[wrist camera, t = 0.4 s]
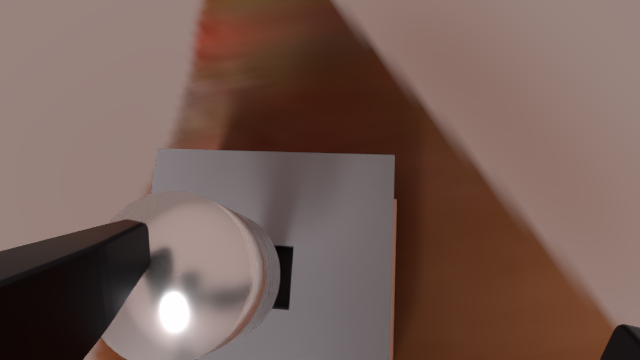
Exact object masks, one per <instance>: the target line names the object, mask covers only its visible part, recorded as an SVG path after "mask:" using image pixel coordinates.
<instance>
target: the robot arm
mask: <svg viewBox="0 0 640 360" xmlns="http://www.w3.org/2000/svg"><path fill="white" fill-rule="evenodd" d="M149 262H150V244H149V230H148V227H147V225H146V224H145V223H144V222H139V221H135V220H130V219H125V220H121V221H117V222H113V223H109V224H105V225H102V226H97V227H93V228H90V229H86V230H82V231H78V232H74V233H70V234H66V235H62V236H58V237H55V238H50V239H46V240H43V241H39V242H35V243H31V244H27V245H23V246H19V247H15V248H12V249H8V250H3V251H0V360H83V359H84V358H85V356H86V355H87V354H88V353H89V351H90V350H91V349H92V348H93V346H94V345H95V344H96V343H97V341H98V340H99V339H100V338H101V336H102V335H103V334H104V332H105V331H106V330H107V328H108V327H109V326H110V324H111V323H112V321H113V320H114V318H115V317H116V315H117V314H118V312H119V311H120V309H121V308H122V306H123V305H124V303H125V302H126V300H127V298H128V297H129V295H130V294H131V292H132V291H133V289H134V288H135V286H136V285H137V283H138V282H139V280H140V279H141V277H142V275H143V274H144V272H145V271H146V269H147V267H148V265H149ZM600 360H640V328H639V327H635V326H630V325H625V324H622V325H619V326H617V327H616V328H615V330H614V331H613V333H612V335H611V337H610V340H609V342H608V344H607V346H606V348H605V350H604V352H603V354H602V356H601V359H600Z"/></svg>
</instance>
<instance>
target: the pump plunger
mask: <svg viewBox="0 0 640 360" xmlns="http://www.w3.org/2000/svg"><path fill="white" fill-rule="evenodd" d="M125 219H130V220H135V221H139V222H144V223H145V224H146V225H147V227H148V230H149V244H150V262H149V265H148V267H147V269H146V271H145V272H144V274H143V275H142V277H141V279H140V280H139V282H138V283H137V285H136V286H135V288H134V289H133V291H132V292H131V294H130V295H129V297H128V298H127V300H126V302H125V303H124V305H123V306H122V308H121V309H120V311H119V312H118V314H117V315H116V317H115V318H114V320H113V321H112V323H111V324H110V326H109V327H108V328H107V330H106V331H105V332H104V334H103V335H102V336H101V337H102V339H103V340H104V341H105V342H106V344H107V345H108V346H109V347H111V348H112V349H113V350H114V351H115V352H116V353H118V354H119V355H121V356H122V357H124V358H126V359H128V360H196V359H198V358H200V357H202V356H204V355H206V354H208V353H211V352H213V351H215V350H217V349H219V348H221V347H223V346H225V345H227V344H230V343H232V342H234V341H236V340H238V339H240V338H242V337H244V336H246V335H247V334H249V333H250V332H252V331H253V330H254V329H255V328H257V327H258V326H259V325H260V324H261V323H262V321H263V320H264V319H265V318H266V316H267V315H268V314H269V312H270V310H271V308H272V307H273V304H274V302H275V300H276V297H277V293H278V290H279V284H280V264H279V259H278V255H277V252H276V249H275V247H274V245H273V243H272V241H271V239H270V238H269V236H268V235H267V233H266V232H265V231H264V230H263V229H262V228H261V227H260V226H259V225H258V224H257V223H255V222H254V221H253V220H251V219H249V218H247V217H245V216H243V215H241V214H239V213H237V212H235V211H233V210H231V209H228V208H226V207H224V206H222V205H220V204H218V203H216V202H214V201H211V200H209V199H207V198H205V197H202V196H200V195H197V194H193V193H190V192H183V191H165V192H159V193H154V194H151V195H148V196H145V197H143V198H141V199H138V200H136V201H135V202H133V203H131V204H129V205H128V206H127V207H125V208H124V209H123V210H121V211H120V212H119V213H118V214H117V215H116V216H115V217H114V218H113V219H112V220H111V221H110V222H109V223H113V222H117V221H121V220H125ZM109 223H108V224H109Z"/></svg>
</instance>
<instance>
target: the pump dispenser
mask: <svg viewBox="0 0 640 360" xmlns="http://www.w3.org/2000/svg"><path fill="white" fill-rule="evenodd" d="M394 170H395V155H379V154H342V153H305V152H268V151H231V150H194V149H157V156H156V163H155V169H154V176H153V183H152V190H151V194H154V193H159V192H165V191H183V192H190V193H193V194H197V195H200V196H202V197H205V198H207V199H209V200H211V201H214V202H216V203H218V204H220V205H222V206H224V207H226V208H228V209H231V210H233V211H235V212H237V213H239V214H241V215H243V216H245V217H247V218H249V219H251V220H253V221H254V222H255V223H257V224H258V225H259V226H260V227H261V228H262V229H263V230H264V231H265V232H266V233H267V235H268V236H269V238H270V239H271V241H272V243H273V245H274V247H275V249H276V252H277V255H278V259H279V264H280V284H279V290H278V293H277V297H276V300H275V302H274V304H273V307H272V308H271V310H270V312H269V314H268V315H267V316H266V318H265V319H264V320H263V321H262V323H261V324H260V325H259V326H258V327H257V328H255V329H254V330H253V331H252V332H250V333H249V334H247V335H246V336H244V337H242V338H240V339H238V340H236V341H234V342H232V343H230V344H227V345H225V346H223V347H221V348H219V349H217V350H215V351H213V352H211V353H208V354H206V355H204V356H202V357H200V358H198V359H196V360H393V338H394V296H395V255H396V214H397V199H394ZM127 360H128V359H127Z"/></svg>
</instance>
